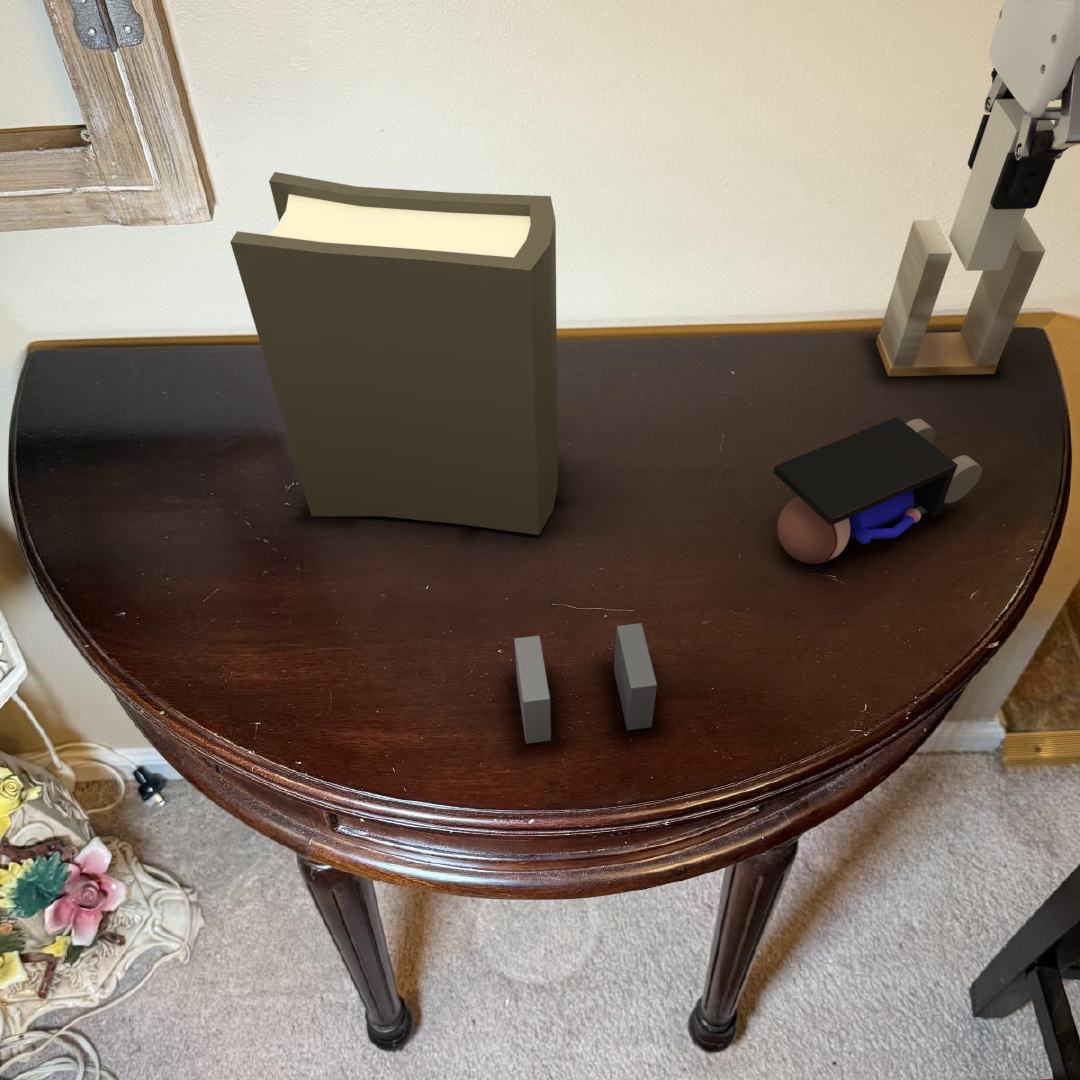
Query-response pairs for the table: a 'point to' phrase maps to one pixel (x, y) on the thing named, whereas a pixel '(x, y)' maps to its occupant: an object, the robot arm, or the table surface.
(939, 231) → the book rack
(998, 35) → the robot arm
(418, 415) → the book
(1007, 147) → the beige rectangular block
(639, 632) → the grey rectangular blocks
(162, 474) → the table surface
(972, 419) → the table surface
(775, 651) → the table surface
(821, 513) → the figurine character
